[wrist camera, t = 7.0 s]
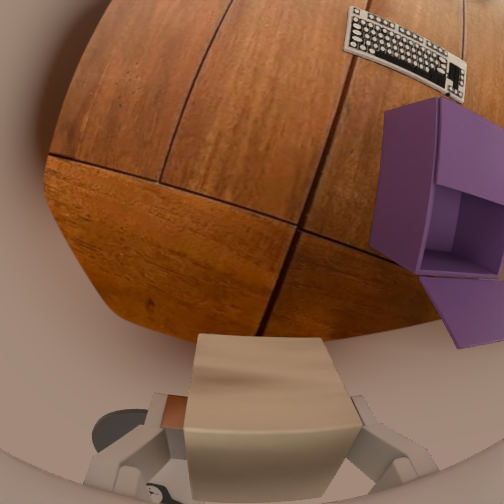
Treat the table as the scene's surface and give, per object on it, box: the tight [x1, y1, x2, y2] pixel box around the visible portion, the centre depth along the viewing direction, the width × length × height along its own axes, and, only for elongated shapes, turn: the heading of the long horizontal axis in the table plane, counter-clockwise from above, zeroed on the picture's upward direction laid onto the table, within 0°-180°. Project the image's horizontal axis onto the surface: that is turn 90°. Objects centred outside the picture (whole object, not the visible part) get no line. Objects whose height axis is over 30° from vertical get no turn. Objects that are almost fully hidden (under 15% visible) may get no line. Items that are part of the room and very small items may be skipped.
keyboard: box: [343, 6, 467, 104], centre depth 24 cm, size 17×6×2 cm, turn 80°
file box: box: [369, 97, 504, 279], centre depth 24 cm, size 15×13×10 cm
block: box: [183, 333, 362, 503], centre depth 9 cm, size 4×4×4 cm
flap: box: [418, 277, 504, 349], centre depth 19 cm, size 7×13×1 cm
